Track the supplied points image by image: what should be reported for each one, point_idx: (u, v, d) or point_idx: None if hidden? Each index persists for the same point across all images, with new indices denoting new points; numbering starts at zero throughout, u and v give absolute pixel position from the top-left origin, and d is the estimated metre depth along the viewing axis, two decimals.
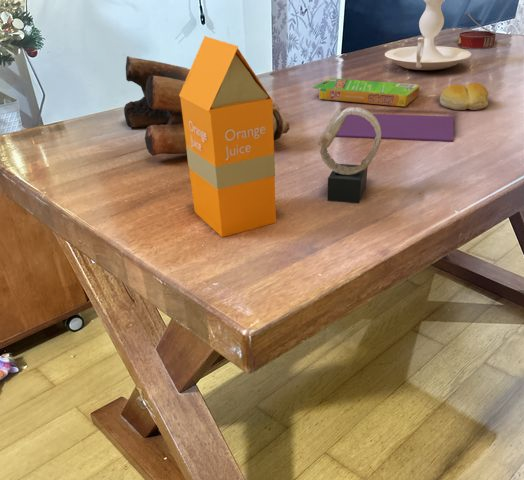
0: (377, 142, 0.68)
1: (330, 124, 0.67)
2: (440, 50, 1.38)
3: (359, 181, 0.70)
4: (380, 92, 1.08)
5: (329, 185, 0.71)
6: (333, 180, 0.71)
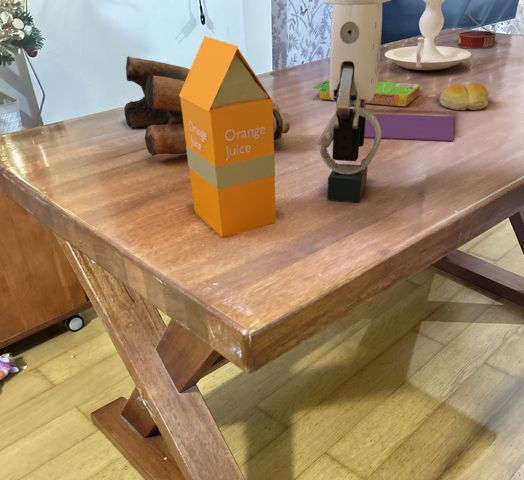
0: (377, 141, 0.68)
1: (330, 123, 0.67)
2: (440, 50, 1.38)
3: (359, 180, 0.70)
4: (380, 92, 1.08)
5: (329, 185, 0.71)
6: (333, 180, 0.71)
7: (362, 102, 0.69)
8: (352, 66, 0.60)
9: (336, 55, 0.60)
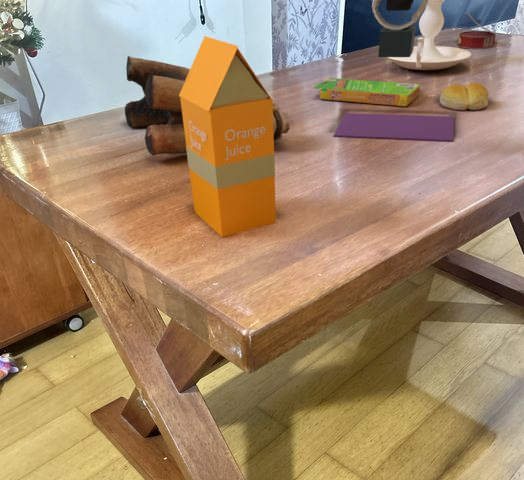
0: None
1: None
2: (440, 50, 1.38)
3: (411, 32, 0.73)
4: (381, 92, 1.08)
5: (381, 40, 0.74)
6: (385, 34, 0.74)
7: None
8: None
9: None
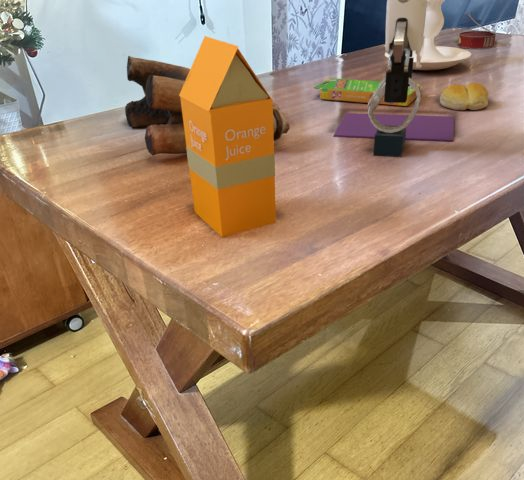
0: (417, 104, 0.81)
1: (378, 88, 0.81)
2: (440, 50, 1.38)
3: (401, 137, 0.83)
4: None
5: (375, 141, 0.85)
6: (379, 137, 0.84)
7: (410, 50, 0.82)
8: (406, 18, 0.72)
9: (392, 13, 0.72)
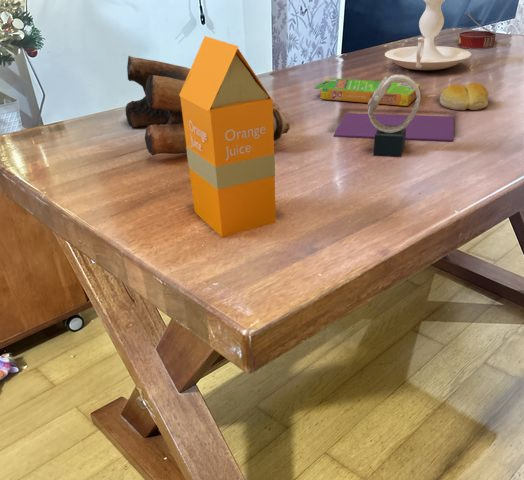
0: (417, 104, 0.81)
1: (378, 88, 0.81)
2: (440, 50, 1.38)
3: (401, 137, 0.83)
4: None
5: (375, 141, 0.85)
6: (379, 137, 0.84)
7: None
8: None
9: None
